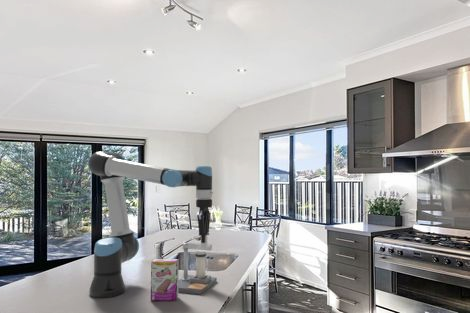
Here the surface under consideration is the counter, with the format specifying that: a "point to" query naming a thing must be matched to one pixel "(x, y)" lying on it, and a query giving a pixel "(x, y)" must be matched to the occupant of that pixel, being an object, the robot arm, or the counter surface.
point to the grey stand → (193, 280)
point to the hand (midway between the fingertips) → (204, 249)
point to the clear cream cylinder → (200, 264)
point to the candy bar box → (164, 279)
